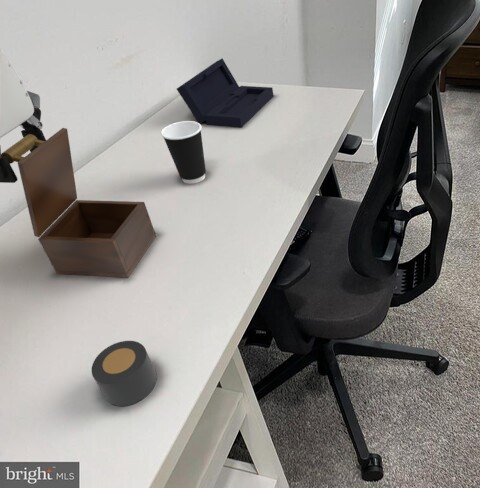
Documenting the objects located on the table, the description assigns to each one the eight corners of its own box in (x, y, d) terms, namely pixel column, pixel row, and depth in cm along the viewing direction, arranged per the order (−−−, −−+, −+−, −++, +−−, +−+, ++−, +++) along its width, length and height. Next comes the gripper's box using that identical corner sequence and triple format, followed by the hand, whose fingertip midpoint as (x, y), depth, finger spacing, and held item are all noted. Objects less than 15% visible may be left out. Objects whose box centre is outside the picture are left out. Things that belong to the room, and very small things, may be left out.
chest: (156, 236, 86) (144, 201, 81) (127, 277, 77) (112, 242, 73) (91, 233, 88) (76, 199, 83) (56, 274, 79) (37, 239, 75)
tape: (120, 416, 57) (106, 392, 54) (95, 386, 61) (81, 363, 58) (166, 381, 61) (156, 358, 58) (140, 355, 64) (129, 332, 61)
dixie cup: (167, 182, 101) (151, 133, 94) (193, 165, 106) (181, 118, 99) (194, 191, 97) (181, 141, 90) (220, 173, 102) (209, 124, 95)
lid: (67, 128, 74) (34, 120, 74) (22, 163, 66) (-15, 154, 66) (77, 198, 83) (48, 190, 83) (38, 237, 74) (6, 229, 74)
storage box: (241, 127, 120) (234, 88, 114) (185, 122, 124) (175, 84, 118) (273, 96, 135) (268, 59, 129) (222, 93, 140) (215, 57, 134)
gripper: (-15, 29, 70) (37, 141, 80) (-117, 70, 56) (-38, 197, 67) (31, 28, 69) (78, 141, 79) (-62, 69, 55) (10, 199, 66)
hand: (25, 166), depth 73 cm, fingers open, 7 cm apart
